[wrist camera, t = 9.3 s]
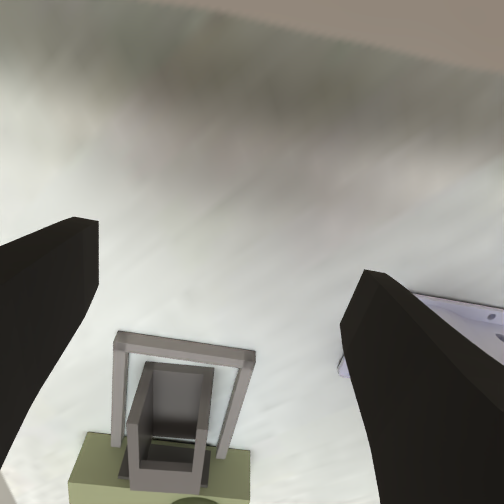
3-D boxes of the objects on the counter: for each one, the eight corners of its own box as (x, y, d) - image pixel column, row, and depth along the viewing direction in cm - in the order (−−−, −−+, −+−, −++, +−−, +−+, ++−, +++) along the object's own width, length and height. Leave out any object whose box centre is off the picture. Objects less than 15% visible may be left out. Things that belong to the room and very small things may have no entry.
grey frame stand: (285, 355, 26) (292, 419, 22) (239, 480, 35) (237, 542, 31) (84, 325, 25) (50, 387, 20) (88, 464, 33) (65, 527, 29)
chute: (145, 360, 27) (126, 423, 22) (214, 366, 27) (207, 430, 23) (146, 426, 31) (130, 490, 26) (206, 430, 31) (199, 494, 27)
